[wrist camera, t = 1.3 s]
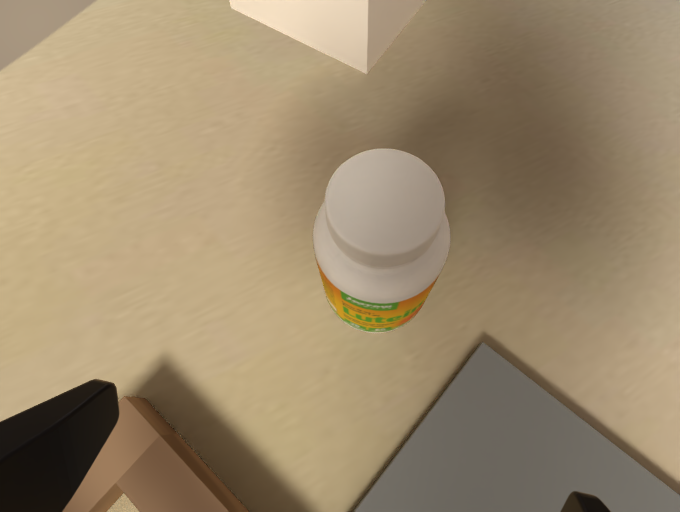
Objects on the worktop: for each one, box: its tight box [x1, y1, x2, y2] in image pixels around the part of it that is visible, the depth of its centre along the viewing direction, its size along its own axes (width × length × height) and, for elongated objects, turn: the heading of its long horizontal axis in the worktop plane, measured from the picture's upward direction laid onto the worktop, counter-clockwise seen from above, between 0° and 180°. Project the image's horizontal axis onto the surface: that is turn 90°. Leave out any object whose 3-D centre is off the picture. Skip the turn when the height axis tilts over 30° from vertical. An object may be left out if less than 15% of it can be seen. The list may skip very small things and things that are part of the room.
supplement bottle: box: [313, 148, 450, 333], centre depth 19 cm, size 5×5×10 cm
